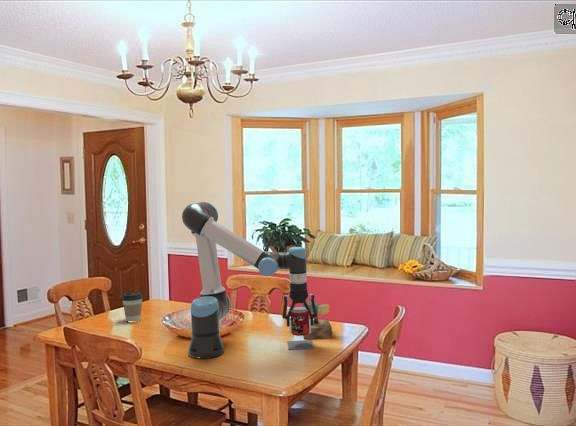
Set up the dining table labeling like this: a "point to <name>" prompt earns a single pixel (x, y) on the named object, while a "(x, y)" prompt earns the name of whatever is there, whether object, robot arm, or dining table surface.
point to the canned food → (299, 321)
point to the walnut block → (320, 330)
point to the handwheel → (318, 309)
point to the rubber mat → (300, 345)
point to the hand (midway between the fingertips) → (300, 332)
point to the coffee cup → (132, 305)
